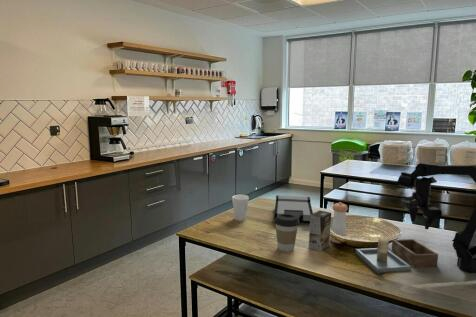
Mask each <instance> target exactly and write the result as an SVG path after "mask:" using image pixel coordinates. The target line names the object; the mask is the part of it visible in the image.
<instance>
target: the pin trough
mask: <svg viewBox="0 0 476 317" xmlns="http://www.w3.org/2000/svg"><path fill="white" fill-rule="evenodd" d="M391 252H392V253H394V254H395V255H396V256H398V257H399V258H400V259H402V260H403V261H404V262H406V263H407V264H408V265H410V266H411V267H414V268H427V267H438V259H439V253H437V252H435V251H434V250H432V249H430V248H429V247H427V246H425V245H424V244H423V243H420V242H419V241H417V240H416V239H414V238H404V239H403V238H402V239H392V240H391Z"/></svg>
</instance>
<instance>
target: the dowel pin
mask: <svg viewBox="0 0 476 317" xmlns="http://www.w3.org/2000/svg"><path fill="white" fill-rule="evenodd" d="M377 242H378V243H377V248H378V250H377V261H378V262H381V263H386V262H387V256H388V250H389V246H390V245H389V243H390V241H389V240H388V239H387V238H381V237H380V238H378V239H377Z"/></svg>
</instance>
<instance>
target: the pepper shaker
mask: <svg viewBox="0 0 476 317" xmlns="http://www.w3.org/2000/svg"><path fill="white" fill-rule="evenodd" d="M332 210H333V220H332V222H331V224H332V225H331V232H332V231H333V232H334V233H336V234H338V235H341V236H346V237H347V223H346V216H347V211H348V210H349V208H348V205H347V204H344V203H343V202H341V201H339V202H338V203H337V202H335V203H334V204H333V205H332ZM330 241H331V242H333V243H336V244H341V243H340V242H339V241H337V240H335V239H333V238H332V237H331V236H330Z"/></svg>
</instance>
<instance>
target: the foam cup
mask: <svg viewBox="0 0 476 317" xmlns="http://www.w3.org/2000/svg"><path fill="white" fill-rule="evenodd" d="M249 200H250V199H249V196H248V195H246V194H236V195H235V194H234V195H232V198H231V201H232V209H233V216H234V220H235V221H239V222H243V221H246V218H247V212H248V207H249Z"/></svg>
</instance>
